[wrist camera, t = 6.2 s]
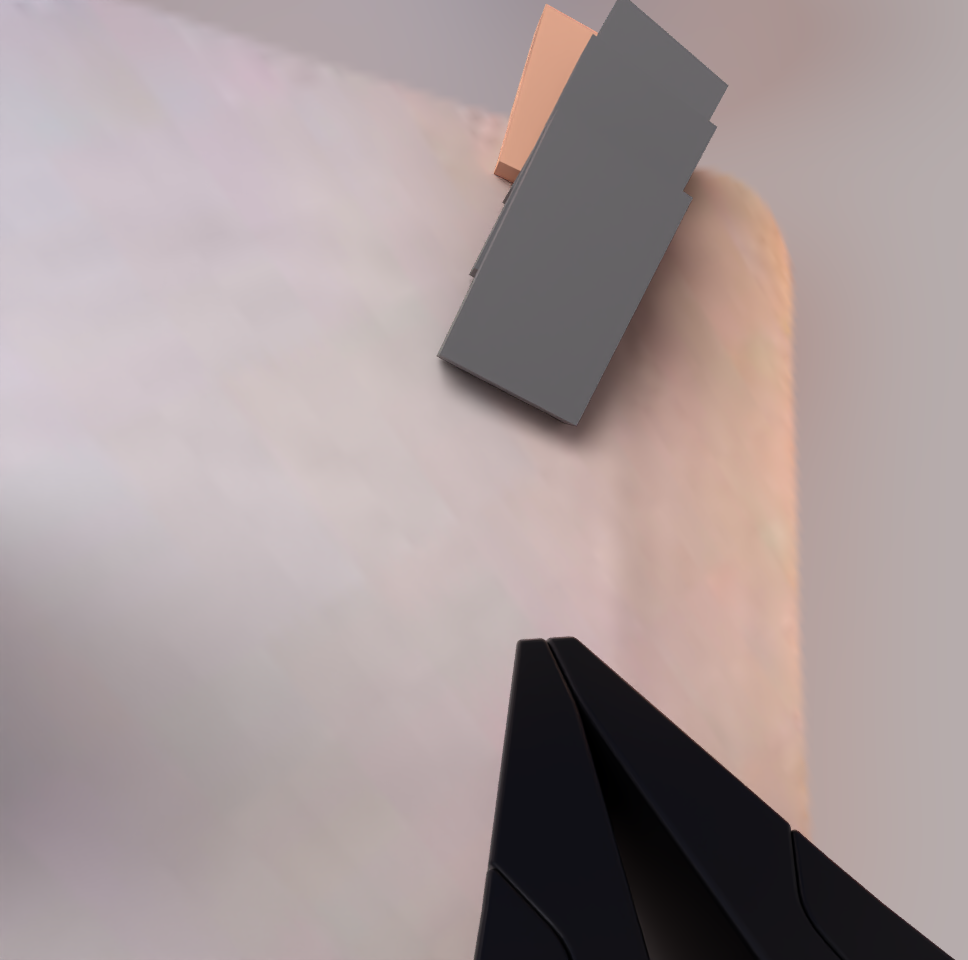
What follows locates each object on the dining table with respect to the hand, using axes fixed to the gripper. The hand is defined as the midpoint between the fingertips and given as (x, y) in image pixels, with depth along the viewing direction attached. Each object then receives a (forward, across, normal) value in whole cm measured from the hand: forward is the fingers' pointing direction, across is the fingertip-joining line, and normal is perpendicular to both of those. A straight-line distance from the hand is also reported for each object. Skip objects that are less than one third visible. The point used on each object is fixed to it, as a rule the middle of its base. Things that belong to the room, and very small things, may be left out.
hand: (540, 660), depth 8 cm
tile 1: (+11, -2, -1) cm, 11 cm away
